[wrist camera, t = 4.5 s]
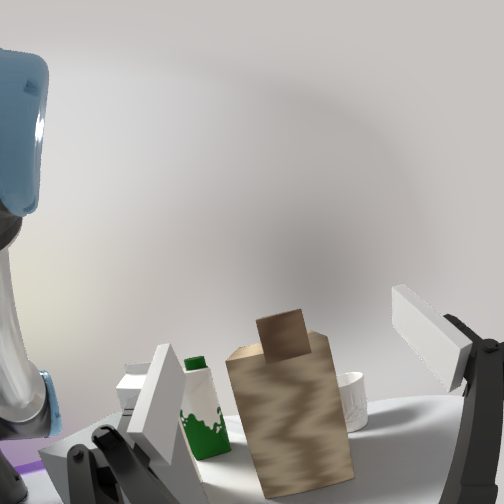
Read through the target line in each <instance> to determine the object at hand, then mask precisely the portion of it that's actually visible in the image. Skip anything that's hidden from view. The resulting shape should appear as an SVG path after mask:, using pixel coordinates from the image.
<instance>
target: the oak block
mask: <svg viewBox="0 0 504 504" xmlns="http://www.w3.org/2000/svg"><path fill="white" fill-rule="evenodd" d="M307 335H308V339H309V343H310V348H311V352H312V353H310V354H306V355H302V356H299V357H295V358H291V359H287V360H283V361H279V362H275V363H270V364H266V361H265V357H264V353H263V349H262V344H261V343H258V344H253V345H249V346H244V347H240V348H238V349H237V350H236V351H235V352H234V353H233V354H232V355H231V356H230V357H229V358H228V359H227V360H226V366H227V370H228V374H229V378H230V382H231V386H232V390H233V393H234V397H235V400H236V404H237V408H238V412H239V415H240V419H241V422H242V426H243V429H244V433H245V436H246V439H247V443H248V446H249V449H250V453H251V456H252V459H253V462H254V466H255V469H256V472H257V475H258V478H259V481H260V484H261V487H262V490H263V493H264V496H265V499H267V498H274V497H280V496H286V495H291V494H296V493H301V492H305V491H310V490H314V489H318V488H322V487H326V486H329V485H333V484H336V483H340V482H343V481H346V480H349V479H353V478H355V477H354V471H353V464H352V458H351V451H350V445H349V440H348V434H347V428H346V423H345V417H344V412H343V407H342V402H341V397H340V392H339V387H338V382H337V378H336V373H335V368H334V364H333V359H332V355H331V350H330V346H329V342H328V337H327V336H325V335H322V334H319V333H317V332H314V331H312V330H310V331H307Z"/></svg>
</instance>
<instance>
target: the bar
mask: <svg viewBox="0 0 504 504" xmlns="http://www.w3.org/2000/svg"><path fill="white" fill-rule="evenodd" d="M256 324H257V328H258V332H259V336H260V340H261V344H262V349H263V353H264V357H265V361H266V364H270V363H275V362H279V361H283V360H287V359H291V358H295V357H299V356H302V355H306V354H310V353H312V352H311V348H310V343H309V339H308V335H307V331H306V327H305V323H304V319H303V315H302V311H301V309H297V310H292V311H287V312H283V313H279V314H275V315H271V316H267V317H263V318H260V319H257V320H256Z"/></svg>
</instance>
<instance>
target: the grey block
mask: <svg viewBox="0 0 504 504" xmlns="http://www.w3.org/2000/svg"><path fill="white" fill-rule="evenodd" d="M122 414H123V412H116V413H113V414H111V415H110V416H108V417H106V418H104V419H102V420H100V421H98V422H96V423H94V424H93V425H91V426H89V427H87V428H85V429H83V430H81V431H79V432H77V433H75V434H73V435H71V436H69V437H67V438H65V439H62V440H60V441H58V442H56V443H54V444H52V445H50V446H47V447H45V448H43V449H41V450H39V451H38V453H39V455H40V457H41V459H42V462H43V464H44V466H45V468H46V470H47V473H48V475H49V477H50V479H51V481H52V483H53V485H54V486H55V488H56V490H57V492H58V494H59V496H60V497H61V499H62V501H63V503H64V504H70V495H69V485H68V472H67V452H68V451H69V449H70V448H71V447H72V446H74V445H76V444H84V445H85V446H86V447H87V448H88V449H89V450H90V449H95V448H98V447H97V446H96V445H95V444H94V443H93V442H92V440H91V436H92V433H93V432H94V430H95V429H96V428H98V427H99V426H101V425H105V424H109V425H112V426H113V427H114V428H115V429H116V430H117V427H118V424H119V422H120V419H121V416H122ZM149 466H150V467H151V468H152V469H153V471H154V472H155V473H156V475H157V476H158V477H159V479H160V480H161V481H162V482H163V484H164V485H165V486H166V487H167V489H168V490H169V491H170V492H171V493H172V495H173V496H174V497H175V498H176V499H177V500H178V502H179V503H180V504H210V503H209V501H208V499H207V496H206V494H205V492H204V489H203V487H202V485H201V482H200V480H199V477H198V475H197V472H196V470H195V467H194V464H193V462H192V459H191V456H190V454H189V451H188V448H187V445H186V442H185V439H184V436H183V433H182V430H181V427H180V424H179V421H178V426H177V431H176V437H175V443H174V449H173V454H172V461H171V466H169V465H155V464H154V463H153V462H152V461H151V459H150V463H149ZM120 489H121V487H120ZM121 492H122V496H123V500H124V503H125V504H131V503H130V502H129V500H128V498H127V497H126V495H125V494H124V492H123V490H122V489H121Z"/></svg>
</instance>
